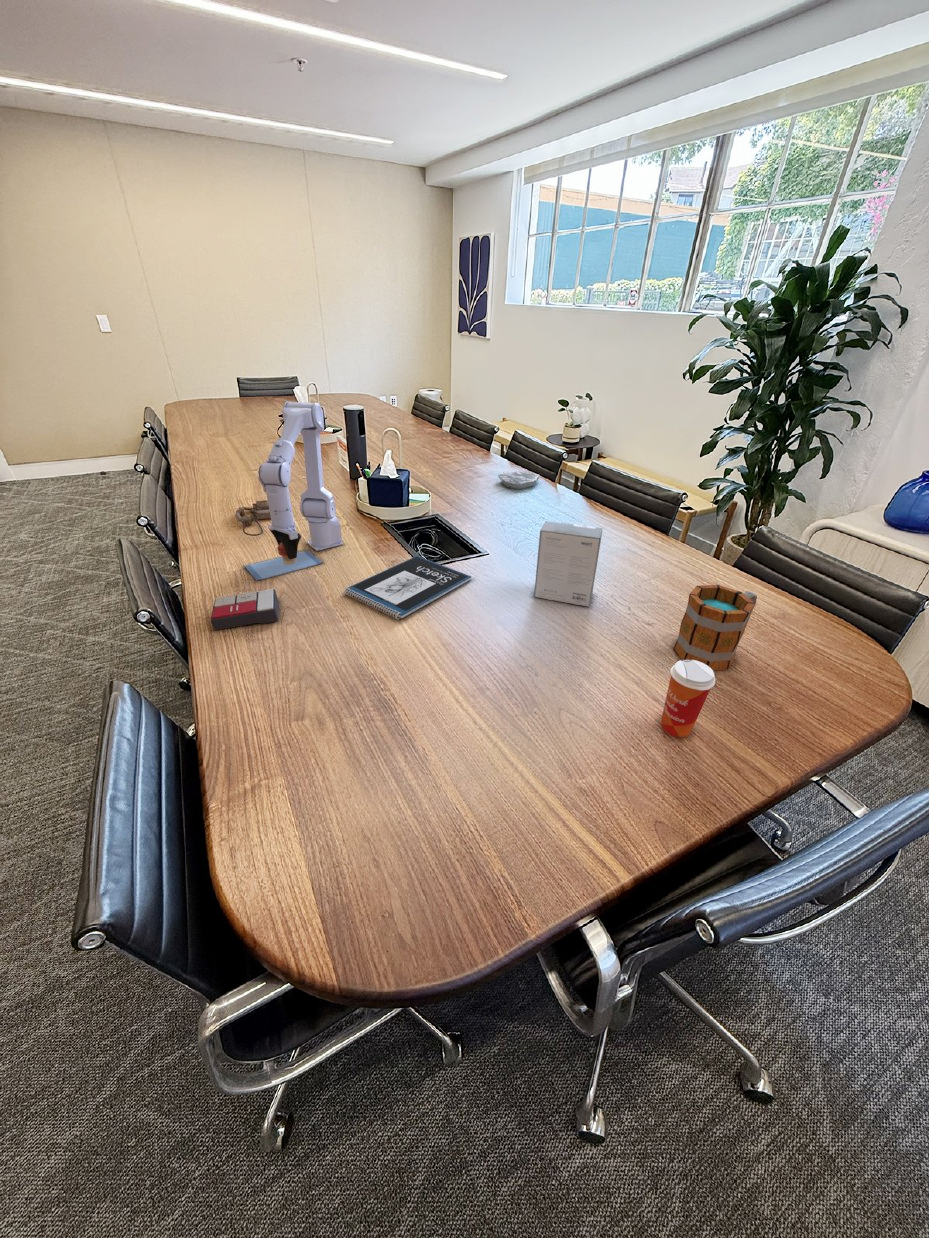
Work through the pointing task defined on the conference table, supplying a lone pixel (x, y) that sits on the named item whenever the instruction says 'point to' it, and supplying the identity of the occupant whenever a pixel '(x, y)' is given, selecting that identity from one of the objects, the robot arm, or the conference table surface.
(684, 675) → the paper cup
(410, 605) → the sketchbook
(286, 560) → the mushroom
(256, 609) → the grey and red box
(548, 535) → the hard drive box
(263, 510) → the telephone
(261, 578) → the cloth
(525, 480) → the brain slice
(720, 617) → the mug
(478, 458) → the conference table surface
